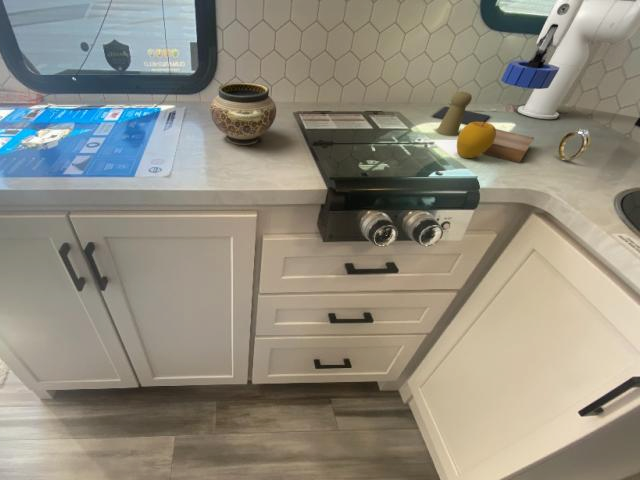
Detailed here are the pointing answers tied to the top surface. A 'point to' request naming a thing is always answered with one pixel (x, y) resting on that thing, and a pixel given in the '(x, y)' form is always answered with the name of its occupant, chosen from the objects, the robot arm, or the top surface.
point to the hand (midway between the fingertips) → (528, 77)
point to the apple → (475, 139)
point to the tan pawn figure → (455, 114)
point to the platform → (509, 145)
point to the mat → (467, 116)
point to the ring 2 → (584, 146)
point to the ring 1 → (529, 75)
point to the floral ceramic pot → (243, 112)
